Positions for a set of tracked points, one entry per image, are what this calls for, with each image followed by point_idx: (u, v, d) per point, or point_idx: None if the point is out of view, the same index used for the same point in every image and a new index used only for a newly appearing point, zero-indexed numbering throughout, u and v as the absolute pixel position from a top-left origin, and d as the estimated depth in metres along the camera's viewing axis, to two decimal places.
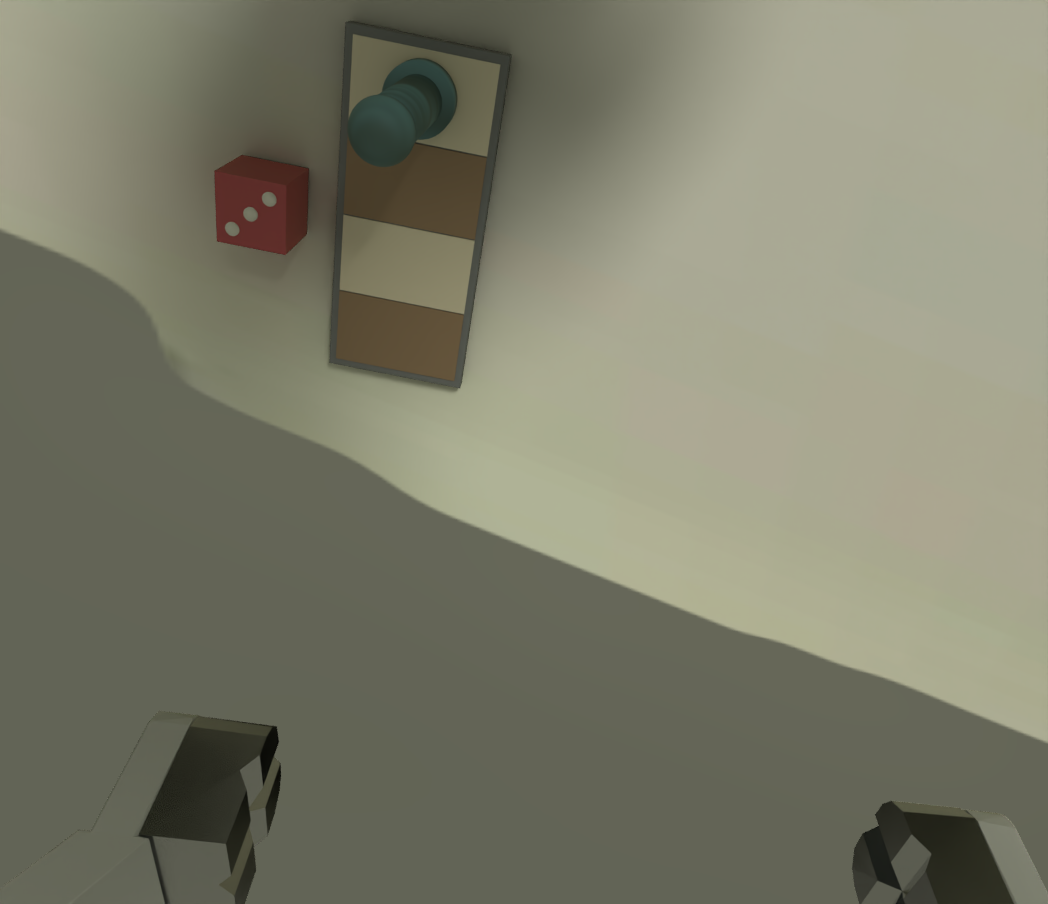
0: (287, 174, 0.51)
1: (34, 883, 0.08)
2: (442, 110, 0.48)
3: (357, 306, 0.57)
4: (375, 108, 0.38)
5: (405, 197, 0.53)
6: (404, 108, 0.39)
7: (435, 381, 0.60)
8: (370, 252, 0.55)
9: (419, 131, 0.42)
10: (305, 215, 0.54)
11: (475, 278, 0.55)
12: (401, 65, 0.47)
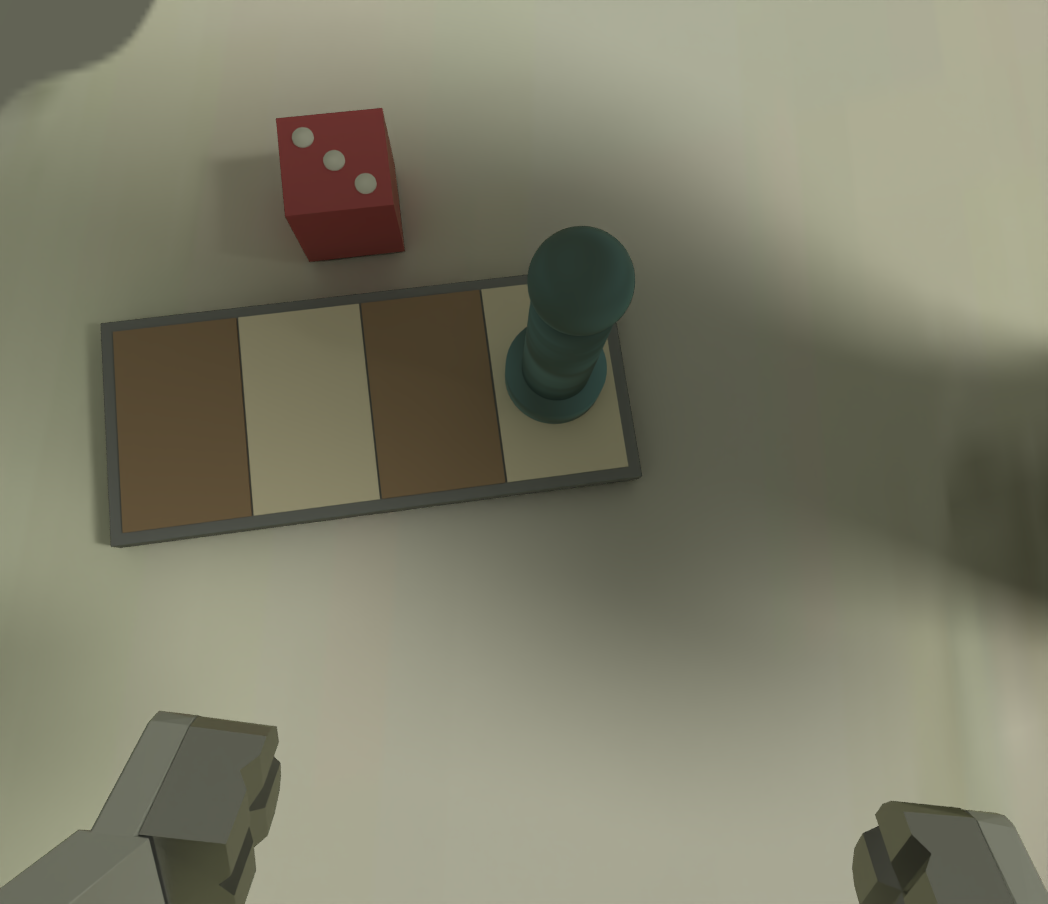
0: (397, 215, 0.35)
1: (34, 883, 0.08)
2: (556, 402, 0.34)
3: (217, 349, 0.35)
4: (624, 257, 0.24)
5: (411, 384, 0.35)
6: (627, 307, 0.25)
7: (112, 501, 0.34)
8: (313, 351, 0.35)
9: (575, 349, 0.27)
10: (338, 253, 0.37)
11: (319, 517, 0.34)
12: None
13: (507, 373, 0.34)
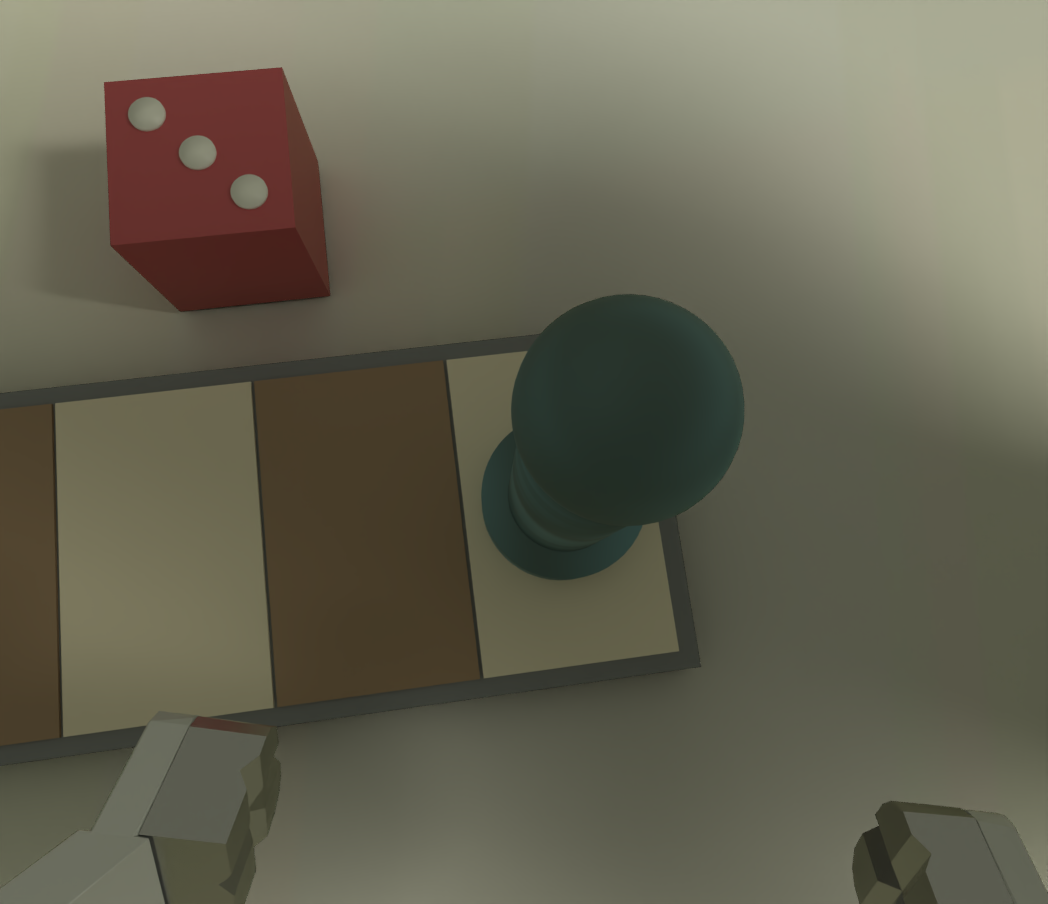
0: (312, 242, 0.22)
1: (34, 883, 0.08)
2: (564, 554, 0.21)
3: (19, 455, 0.22)
4: (728, 370, 0.11)
5: (331, 513, 0.22)
6: None
7: None
8: (173, 459, 0.22)
9: (607, 526, 0.14)
10: (224, 299, 0.23)
11: None
12: None
13: (484, 505, 0.21)
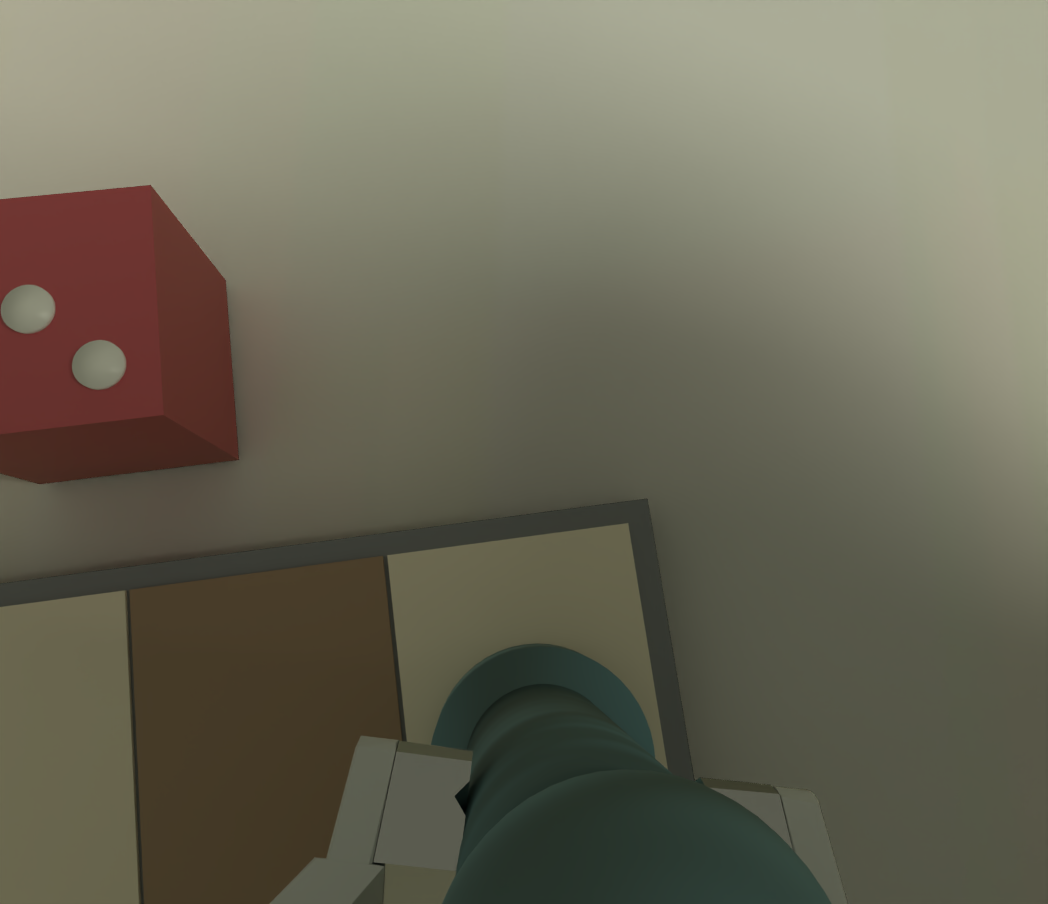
0: (203, 409, 0.16)
1: None
2: None
3: None
4: None
5: (230, 772, 0.16)
6: None
7: None
8: (17, 702, 0.16)
9: None
10: (94, 471, 0.18)
11: None
12: (623, 689, 0.16)
13: None
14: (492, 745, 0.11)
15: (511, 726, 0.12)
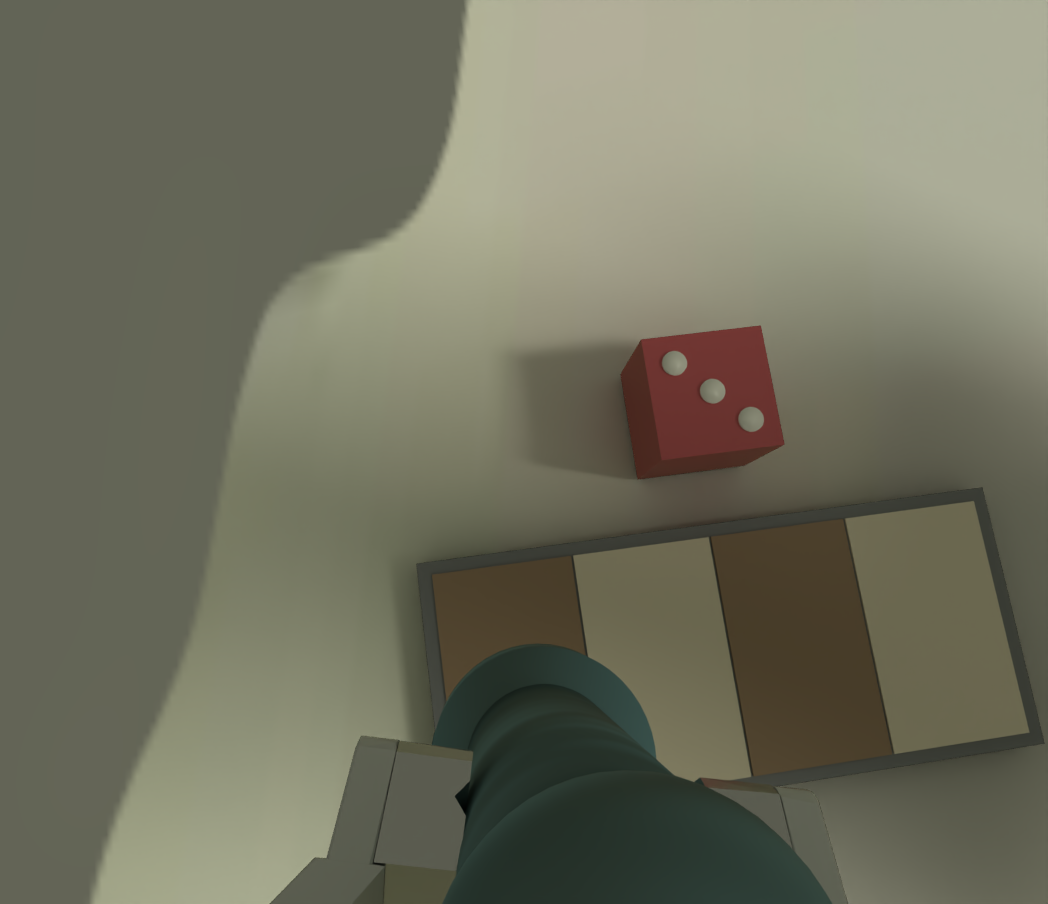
0: None
1: None
2: None
3: (551, 594, 0.30)
4: None
5: (774, 634, 0.31)
6: None
7: None
8: (661, 596, 0.31)
9: None
10: (676, 472, 0.32)
11: None
12: (624, 690, 0.16)
13: None
14: (493, 745, 0.11)
15: (512, 726, 0.12)
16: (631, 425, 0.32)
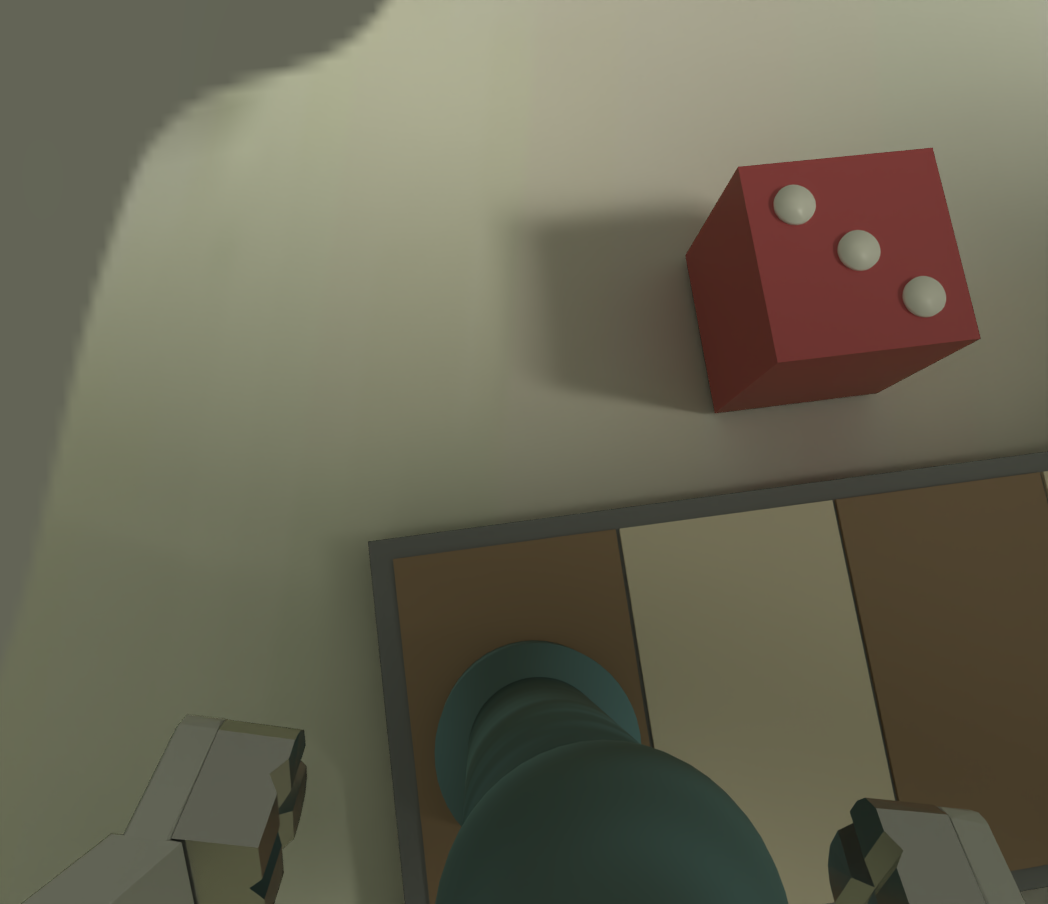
0: None
1: (69, 887, 0.08)
2: None
3: (585, 590, 0.19)
4: None
5: (940, 653, 0.19)
6: None
7: None
8: (760, 593, 0.19)
9: None
10: (776, 401, 0.21)
11: None
12: (612, 682, 0.17)
13: (438, 768, 0.17)
14: (492, 729, 0.13)
15: (509, 712, 0.13)
16: (705, 329, 0.21)
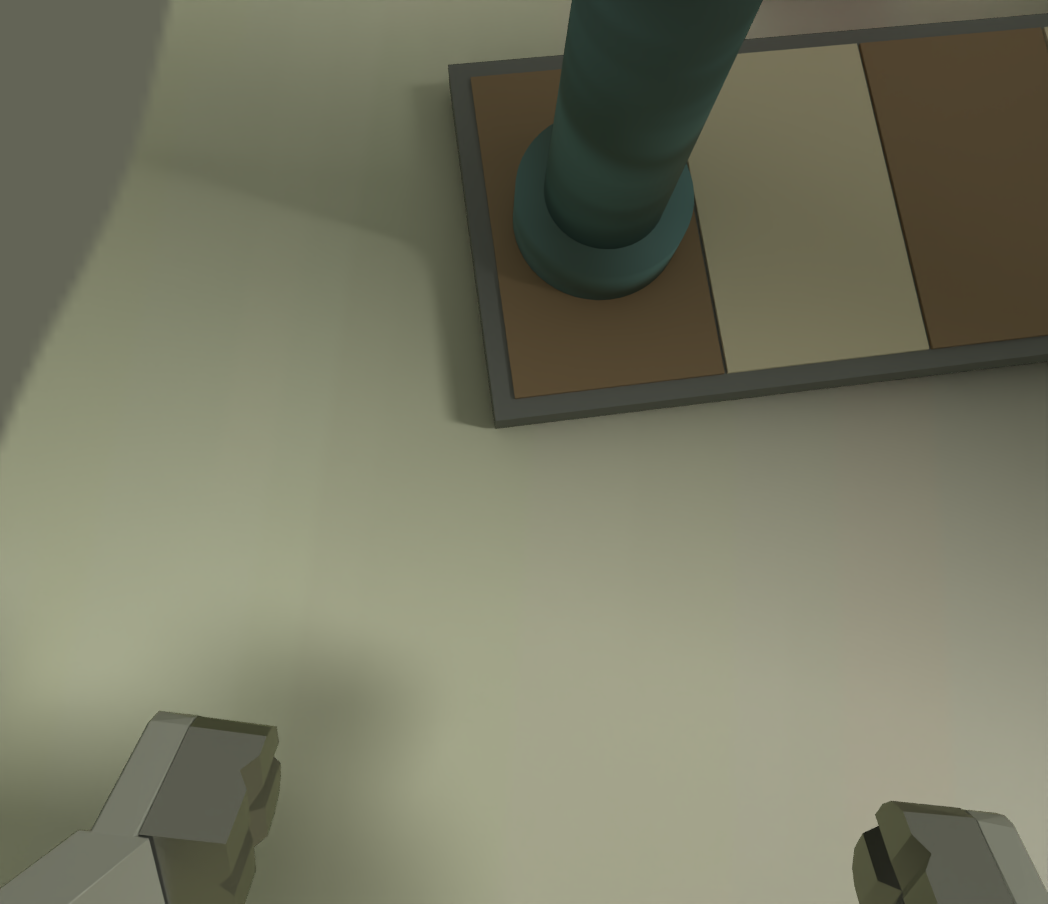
0: None
1: (34, 883, 0.08)
2: (606, 252, 0.19)
3: None
4: None
5: (952, 169, 0.22)
6: None
7: (492, 347, 0.20)
8: (794, 114, 0.22)
9: (680, 50, 0.12)
10: None
11: (833, 377, 0.20)
12: None
13: (518, 201, 0.19)
14: None
15: None
16: None
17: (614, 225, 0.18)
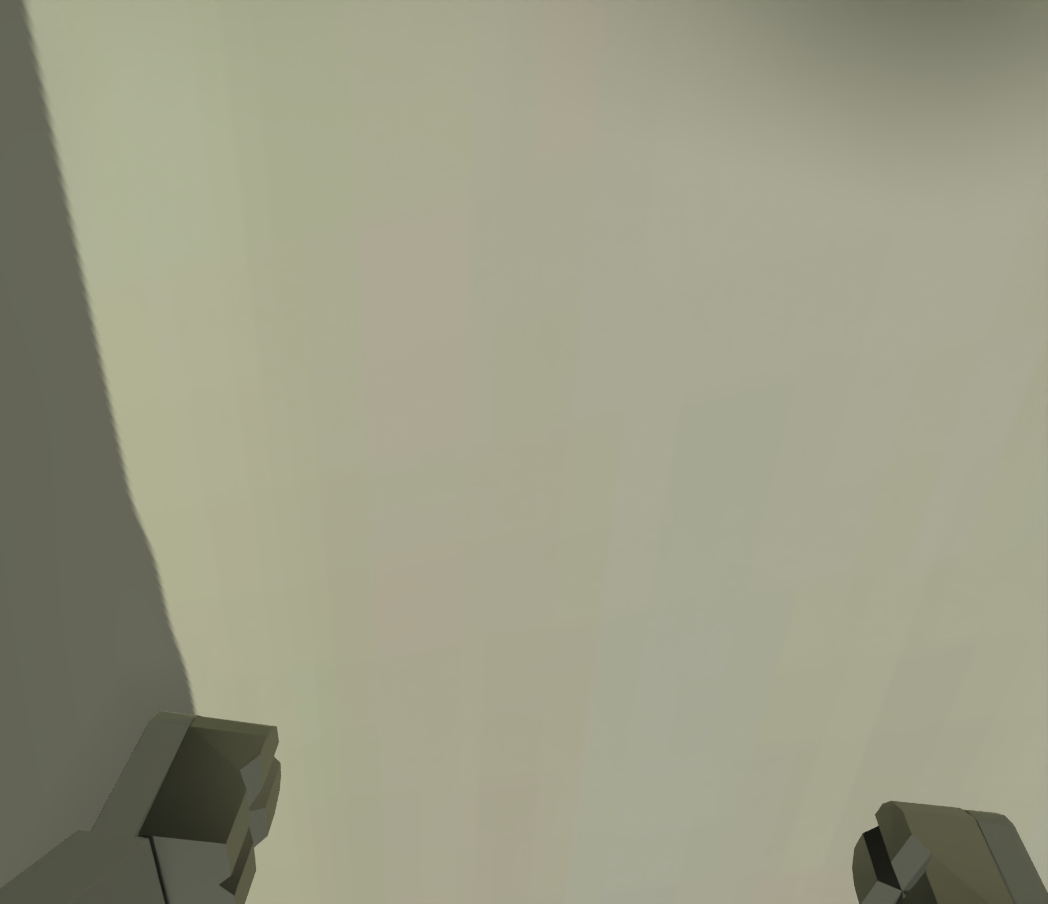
0: None
1: (34, 883, 0.08)
2: None
3: None
4: None
5: None
6: None
7: None
8: None
9: None
10: None
11: None
12: None
13: None
14: None
15: None
16: None
17: None
